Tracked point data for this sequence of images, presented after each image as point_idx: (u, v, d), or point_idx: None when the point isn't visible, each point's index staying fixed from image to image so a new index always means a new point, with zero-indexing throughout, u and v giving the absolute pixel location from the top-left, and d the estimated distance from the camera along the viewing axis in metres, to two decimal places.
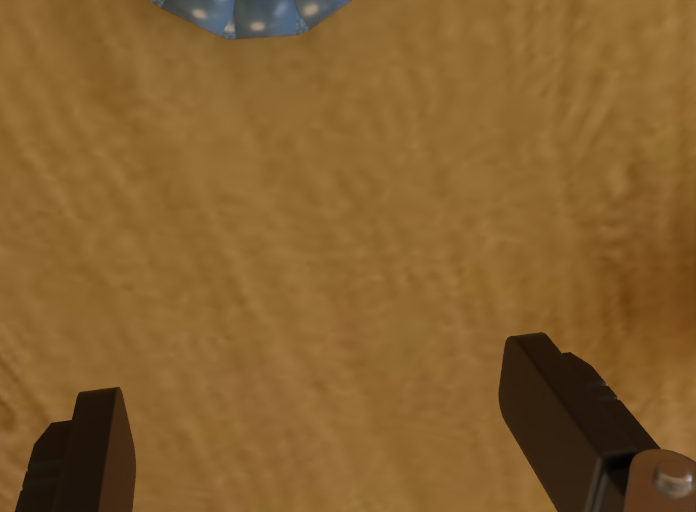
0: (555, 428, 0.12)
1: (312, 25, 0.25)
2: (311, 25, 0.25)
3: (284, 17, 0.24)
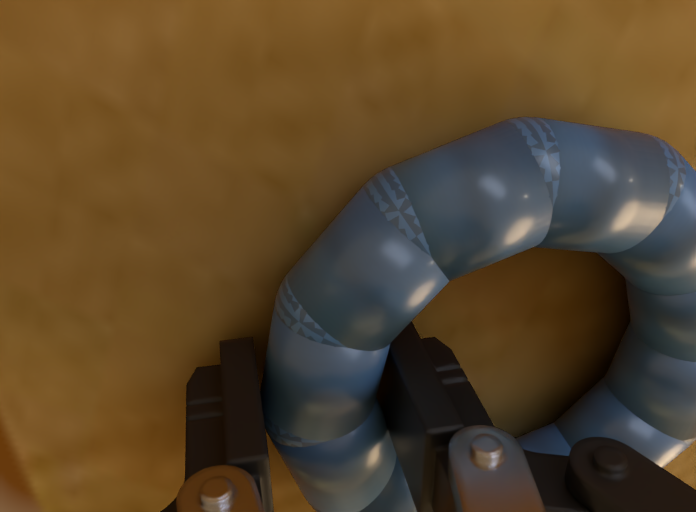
0: (403, 408, 0.13)
1: None
2: None
3: None
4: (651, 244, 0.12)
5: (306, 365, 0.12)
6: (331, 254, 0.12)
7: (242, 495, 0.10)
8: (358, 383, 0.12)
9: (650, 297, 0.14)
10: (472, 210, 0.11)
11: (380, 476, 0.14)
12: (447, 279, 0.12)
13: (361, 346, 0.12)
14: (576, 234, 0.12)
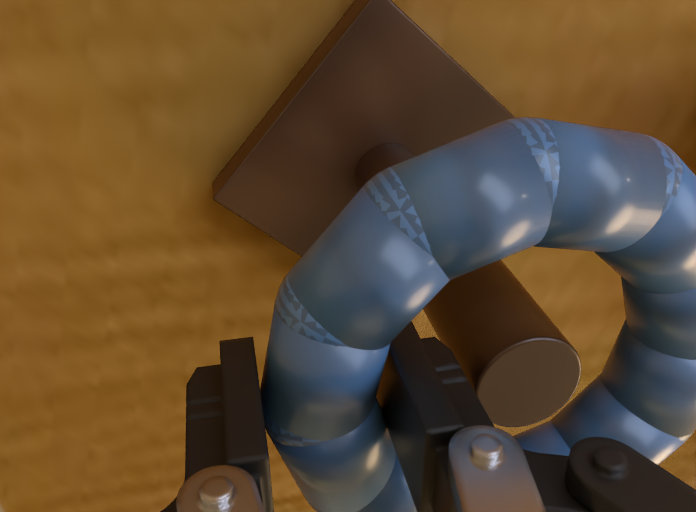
0: (403, 408, 0.13)
1: None
2: None
3: None
4: (648, 243, 0.12)
5: (307, 365, 0.12)
6: (332, 254, 0.12)
7: (241, 496, 0.10)
8: (359, 382, 0.12)
9: (646, 295, 0.14)
10: (473, 209, 0.11)
11: (380, 475, 0.14)
12: (448, 278, 0.12)
13: (362, 345, 0.12)
14: (575, 233, 0.12)
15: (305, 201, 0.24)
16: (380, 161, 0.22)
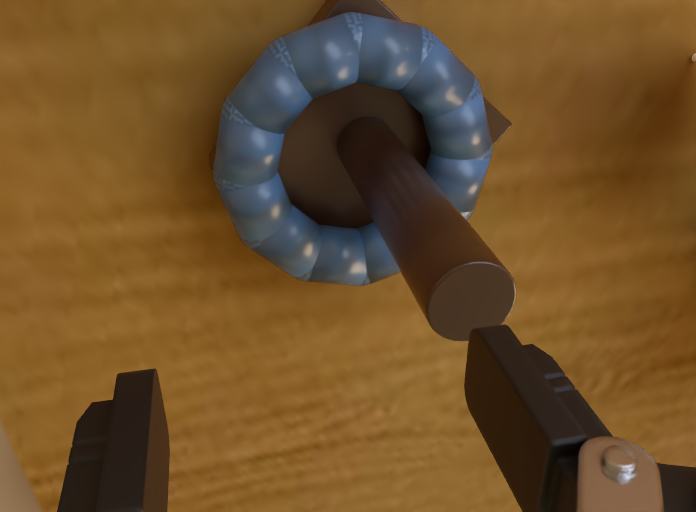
0: (513, 417, 0.12)
1: (490, 141, 0.26)
2: (490, 142, 0.26)
3: (476, 168, 0.26)
4: (417, 81, 0.24)
5: (235, 138, 0.23)
6: (248, 78, 0.23)
7: None
8: (263, 151, 0.24)
9: (429, 120, 0.25)
10: (317, 53, 0.23)
11: (280, 217, 0.25)
12: (308, 93, 0.23)
13: (264, 128, 0.23)
14: (375, 71, 0.23)
15: (292, 169, 0.27)
16: (358, 132, 0.25)
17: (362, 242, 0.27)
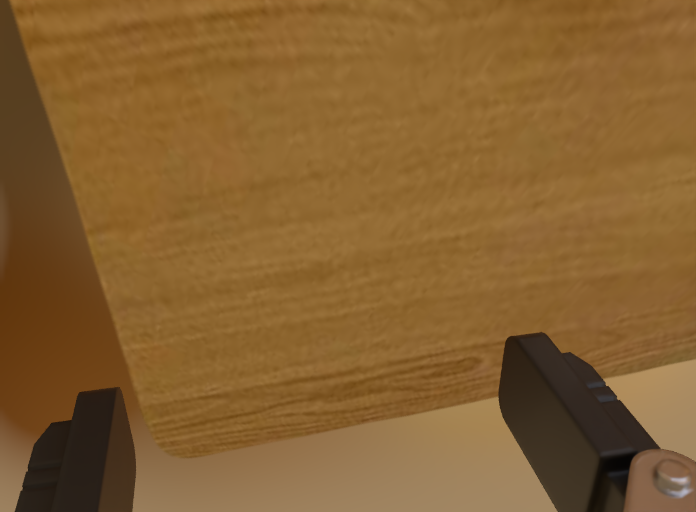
0: (555, 428, 0.12)
1: None
2: None
3: None
4: None
5: None
6: None
7: None
8: None
9: None
10: None
11: None
12: None
13: None
14: None
15: None
16: None
17: None
